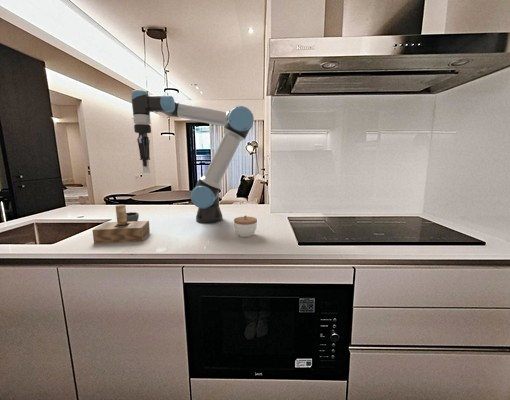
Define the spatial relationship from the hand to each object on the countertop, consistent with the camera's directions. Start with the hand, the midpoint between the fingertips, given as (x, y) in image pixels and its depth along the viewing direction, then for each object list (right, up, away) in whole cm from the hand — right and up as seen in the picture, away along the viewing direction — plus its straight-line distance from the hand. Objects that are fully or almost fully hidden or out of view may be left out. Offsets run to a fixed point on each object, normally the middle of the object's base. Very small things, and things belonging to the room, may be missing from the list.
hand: (146, 172), depth 128 cm
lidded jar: (+51, -30, -9) cm, 60 cm away
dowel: (-6, -30, -12) cm, 33 cm away
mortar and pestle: (-12, -28, +6) cm, 31 cm away
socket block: (-6, -31, -12) cm, 34 cm away
